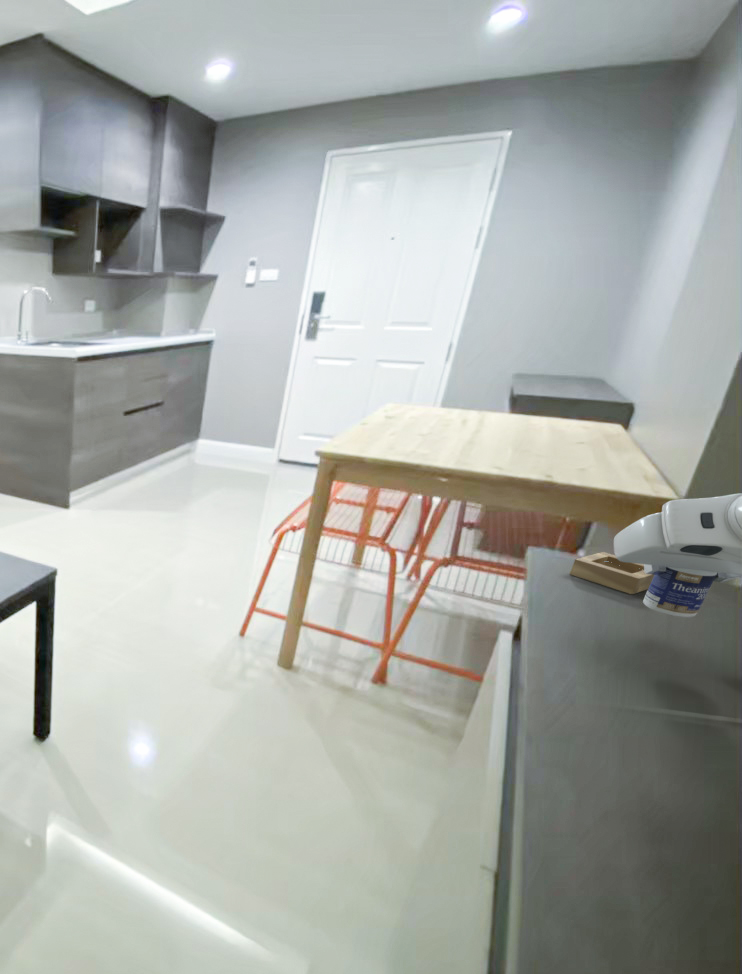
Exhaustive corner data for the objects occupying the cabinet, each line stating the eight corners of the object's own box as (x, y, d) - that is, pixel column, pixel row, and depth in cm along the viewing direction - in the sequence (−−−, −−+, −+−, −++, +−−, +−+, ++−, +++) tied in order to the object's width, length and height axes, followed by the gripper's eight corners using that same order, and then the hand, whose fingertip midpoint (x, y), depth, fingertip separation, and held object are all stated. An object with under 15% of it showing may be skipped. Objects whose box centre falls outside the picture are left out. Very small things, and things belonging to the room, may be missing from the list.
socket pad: (596, 566, 114) (602, 551, 112) (659, 585, 106) (666, 570, 105) (569, 574, 110) (575, 559, 109) (631, 594, 103) (639, 578, 102)
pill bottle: (659, 616, 84) (689, 551, 80) (632, 599, 89) (659, 537, 85) (707, 620, 83) (740, 554, 79) (677, 602, 87) (706, 540, 84)
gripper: (883, 516, 69) (780, 563, 82) (652, 498, 77) (589, 543, 89) (896, 566, 67) (788, 606, 80) (658, 543, 74) (591, 583, 87)
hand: (681, 573), depth 84 cm, fingers closed on pill bottle, 5 cm apart
